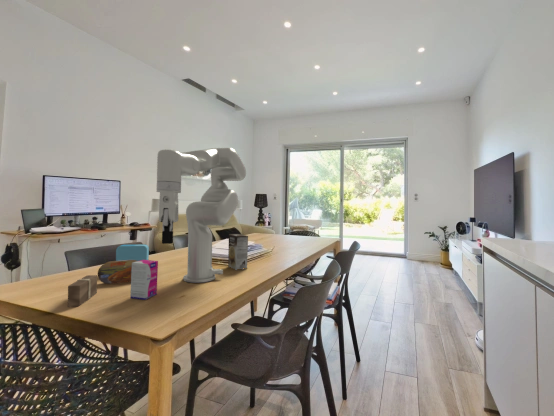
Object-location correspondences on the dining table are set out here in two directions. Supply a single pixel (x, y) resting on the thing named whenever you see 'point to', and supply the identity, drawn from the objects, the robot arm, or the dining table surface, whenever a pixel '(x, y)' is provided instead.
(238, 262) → the coffee box
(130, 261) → the tin
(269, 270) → the dining table surface
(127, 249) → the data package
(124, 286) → the dining table surface
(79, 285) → the brown rectangular block
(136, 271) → the supplement box
